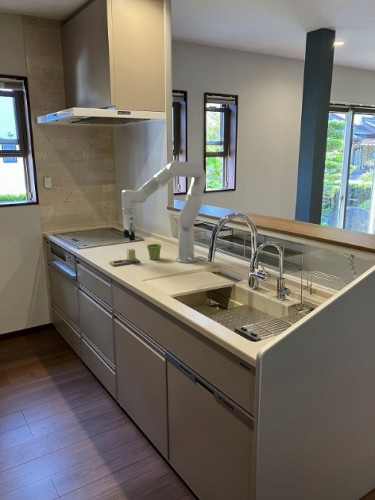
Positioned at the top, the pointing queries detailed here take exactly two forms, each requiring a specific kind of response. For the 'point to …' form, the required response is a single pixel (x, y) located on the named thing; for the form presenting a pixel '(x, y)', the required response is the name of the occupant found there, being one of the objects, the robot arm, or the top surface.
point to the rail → (123, 262)
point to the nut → (131, 255)
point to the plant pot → (154, 251)
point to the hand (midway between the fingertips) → (129, 239)
